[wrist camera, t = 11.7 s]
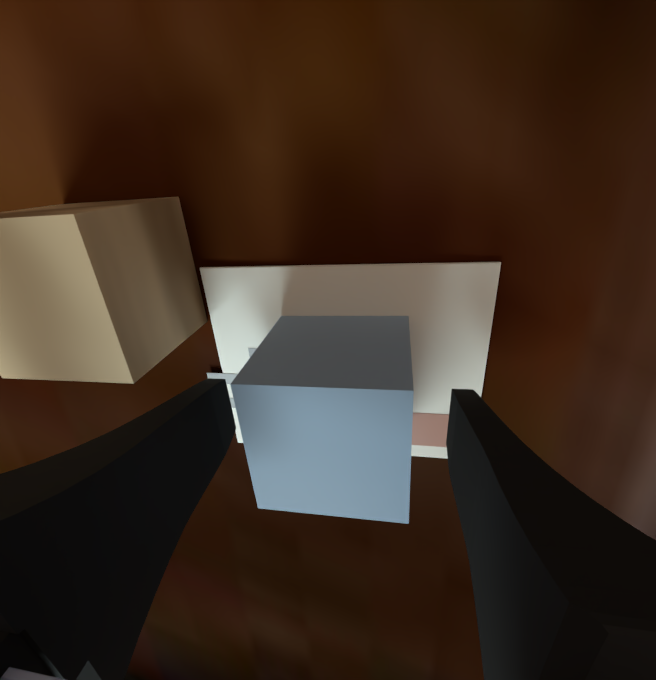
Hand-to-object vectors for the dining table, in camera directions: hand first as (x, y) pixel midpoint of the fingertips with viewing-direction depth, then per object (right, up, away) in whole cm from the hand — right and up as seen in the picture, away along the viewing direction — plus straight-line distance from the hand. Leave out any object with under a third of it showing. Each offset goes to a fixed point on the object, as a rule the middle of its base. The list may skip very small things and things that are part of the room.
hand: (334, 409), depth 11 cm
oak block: (-7, +5, +2) cm, 9 cm away
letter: (0, +1, +2) cm, 3 cm away
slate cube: (+1, +1, +2) cm, 2 cm away
